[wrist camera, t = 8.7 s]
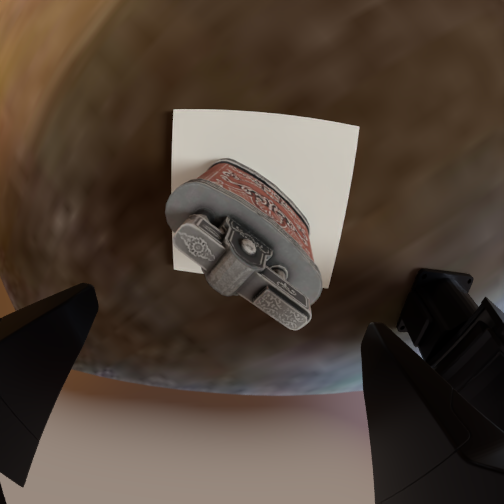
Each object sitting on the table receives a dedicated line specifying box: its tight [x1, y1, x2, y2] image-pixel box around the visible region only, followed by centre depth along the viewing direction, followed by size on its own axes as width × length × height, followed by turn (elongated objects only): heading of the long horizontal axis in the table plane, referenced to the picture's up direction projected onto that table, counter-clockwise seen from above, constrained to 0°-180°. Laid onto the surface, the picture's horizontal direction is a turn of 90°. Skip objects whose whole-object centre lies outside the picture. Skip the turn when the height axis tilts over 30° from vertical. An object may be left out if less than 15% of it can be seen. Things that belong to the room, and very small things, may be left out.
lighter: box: [165, 158, 322, 330], centre depth 15 cm, size 8×3×10 cm, turn 51°
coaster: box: [171, 109, 359, 288], centre depth 20 cm, size 12×12×1 cm
